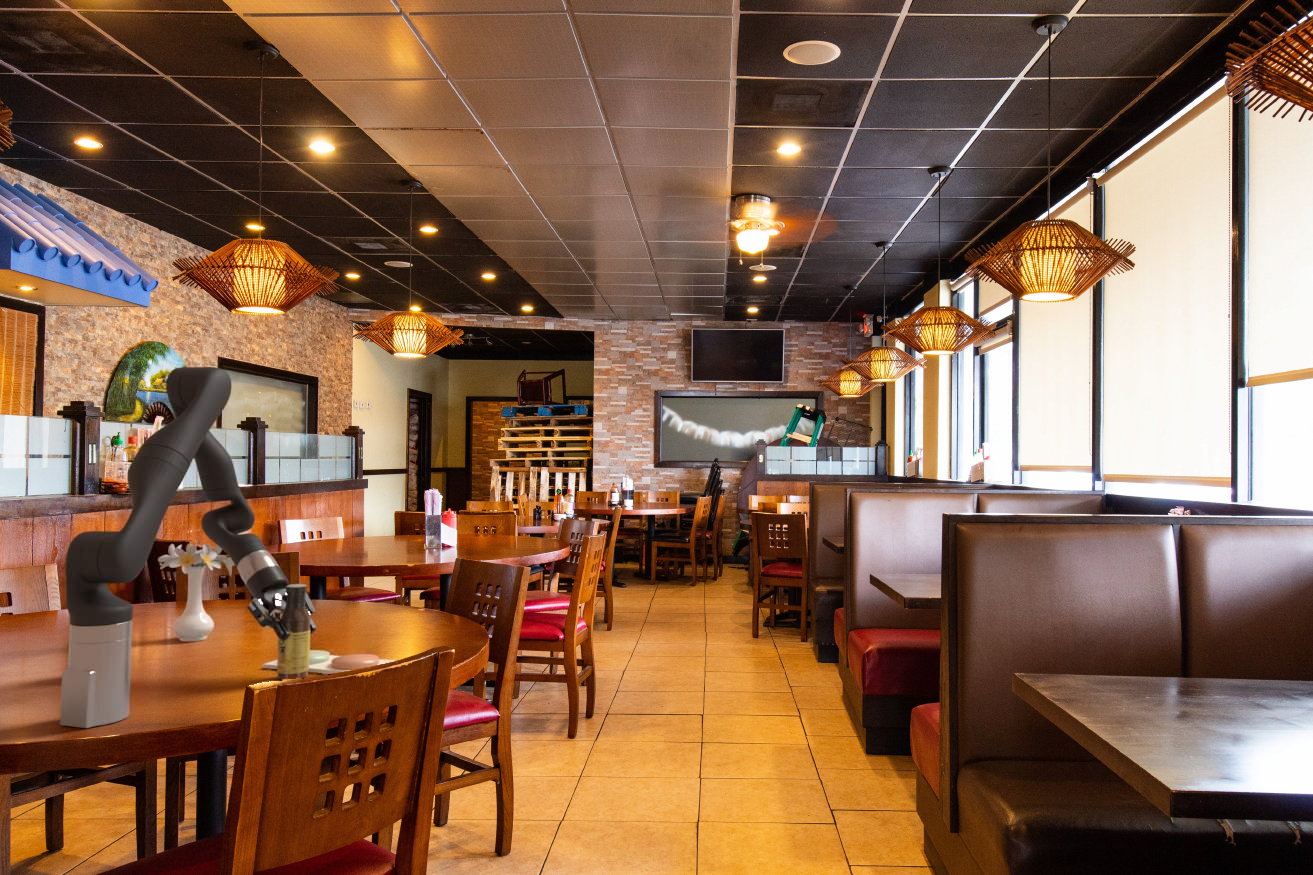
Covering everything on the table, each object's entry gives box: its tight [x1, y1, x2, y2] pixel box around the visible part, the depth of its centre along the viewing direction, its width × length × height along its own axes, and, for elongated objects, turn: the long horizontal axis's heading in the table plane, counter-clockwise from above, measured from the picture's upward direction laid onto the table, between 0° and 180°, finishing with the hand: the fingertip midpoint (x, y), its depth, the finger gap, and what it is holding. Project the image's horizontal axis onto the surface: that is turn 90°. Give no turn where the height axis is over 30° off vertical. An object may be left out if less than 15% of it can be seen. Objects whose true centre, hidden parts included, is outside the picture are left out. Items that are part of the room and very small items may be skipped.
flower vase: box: [157, 542, 235, 643], centre depth 211 cm, size 13×18×25 cm
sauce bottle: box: [276, 583, 311, 681], centre depth 173 cm, size 7×6×20 cm
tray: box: [262, 649, 397, 675], centre depth 183 cm, size 12×26×2 cm, turn 75°
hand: (299, 634), depth 172 cm, fingers closed on sauce bottle, 6 cm apart
